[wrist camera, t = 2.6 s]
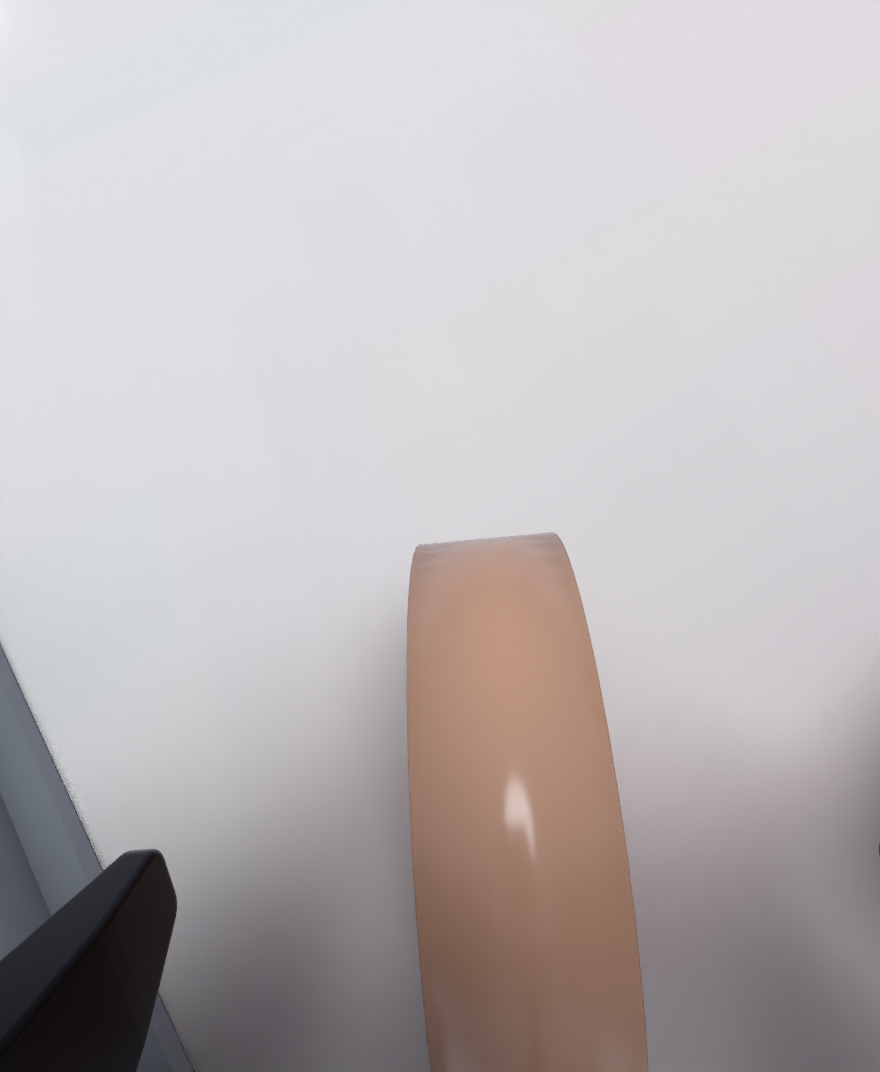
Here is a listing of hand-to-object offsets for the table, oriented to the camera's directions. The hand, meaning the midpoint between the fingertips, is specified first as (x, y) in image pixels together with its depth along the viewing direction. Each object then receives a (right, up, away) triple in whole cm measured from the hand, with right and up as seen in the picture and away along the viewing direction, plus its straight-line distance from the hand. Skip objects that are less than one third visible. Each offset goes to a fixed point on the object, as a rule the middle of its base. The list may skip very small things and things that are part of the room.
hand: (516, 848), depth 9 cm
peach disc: (+1, -3, +8) cm, 8 cm away
